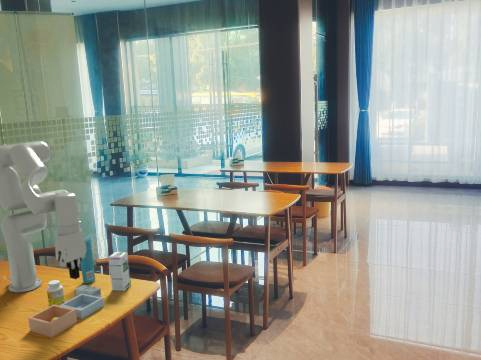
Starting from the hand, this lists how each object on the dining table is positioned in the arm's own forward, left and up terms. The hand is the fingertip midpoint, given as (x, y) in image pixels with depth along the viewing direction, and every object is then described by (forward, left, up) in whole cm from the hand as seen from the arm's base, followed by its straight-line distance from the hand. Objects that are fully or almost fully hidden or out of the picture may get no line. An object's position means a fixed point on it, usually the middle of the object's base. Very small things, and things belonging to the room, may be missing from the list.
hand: (74, 277), depth 164 cm
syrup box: (-1, +24, -14) cm, 28 cm away
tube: (-19, +24, -14) cm, 33 cm away
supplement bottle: (-12, +1, -14) cm, 19 cm away
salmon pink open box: (0, -11, -14) cm, 18 cm away
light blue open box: (0, +2, -14) cm, 14 cm away
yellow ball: (+1, -11, -13) cm, 17 cm away
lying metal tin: (-7, +12, -14) cm, 20 cm away
